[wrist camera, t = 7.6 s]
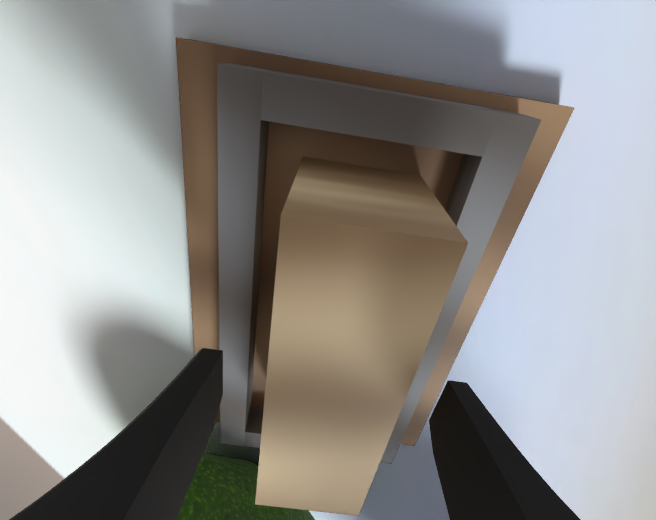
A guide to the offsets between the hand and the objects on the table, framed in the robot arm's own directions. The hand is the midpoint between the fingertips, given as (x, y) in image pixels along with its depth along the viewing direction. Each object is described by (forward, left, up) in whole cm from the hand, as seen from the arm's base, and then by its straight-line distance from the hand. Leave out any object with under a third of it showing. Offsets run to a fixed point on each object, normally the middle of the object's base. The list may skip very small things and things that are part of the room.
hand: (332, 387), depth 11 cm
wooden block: (0, 0, -4) cm, 4 cm away
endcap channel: (0, 0, -5) cm, 5 cm away
